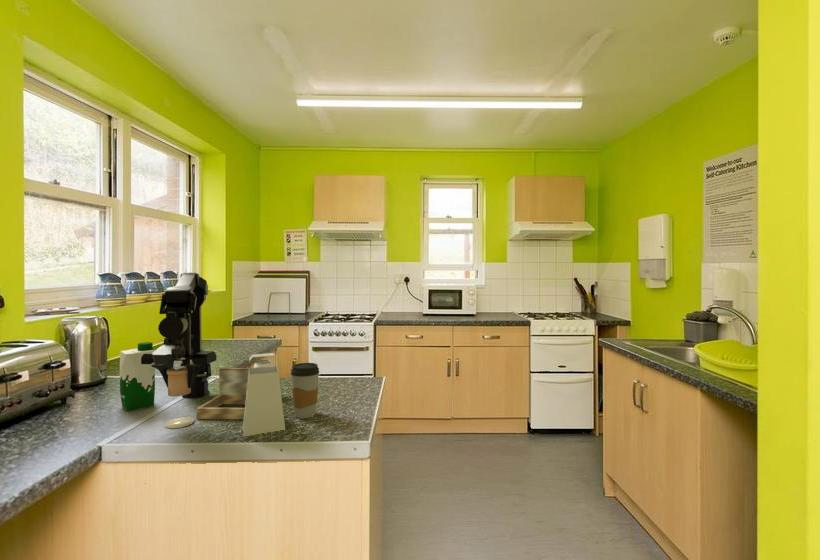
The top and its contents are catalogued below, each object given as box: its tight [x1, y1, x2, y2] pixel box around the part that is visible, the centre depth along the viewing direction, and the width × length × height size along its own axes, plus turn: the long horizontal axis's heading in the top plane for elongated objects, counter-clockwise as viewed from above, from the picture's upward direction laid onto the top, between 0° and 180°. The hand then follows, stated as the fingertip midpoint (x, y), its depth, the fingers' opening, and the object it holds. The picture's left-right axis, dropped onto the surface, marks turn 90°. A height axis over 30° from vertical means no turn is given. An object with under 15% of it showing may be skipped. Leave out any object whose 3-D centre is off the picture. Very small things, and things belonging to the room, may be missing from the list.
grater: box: [242, 352, 286, 437], centre depth 110 cm, size 10×10×20 cm
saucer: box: [164, 416, 195, 429], centre depth 112 cm, size 7×7×1 cm
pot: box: [167, 365, 191, 397], centre depth 111 cm, size 6×6×7 cm
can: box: [253, 359, 274, 368], centre depth 137 cm, size 6×6×12 cm
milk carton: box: [119, 341, 156, 412], centre depth 126 cm, size 9×9×20 cm
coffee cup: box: [290, 362, 320, 420], centre depth 118 cm, size 8×8×15 cm
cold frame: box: [196, 367, 251, 420], centre depth 122 cm, size 16×14×12 cm
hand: (179, 387), depth 112 cm, fingers closed on pot, 6 cm apart
